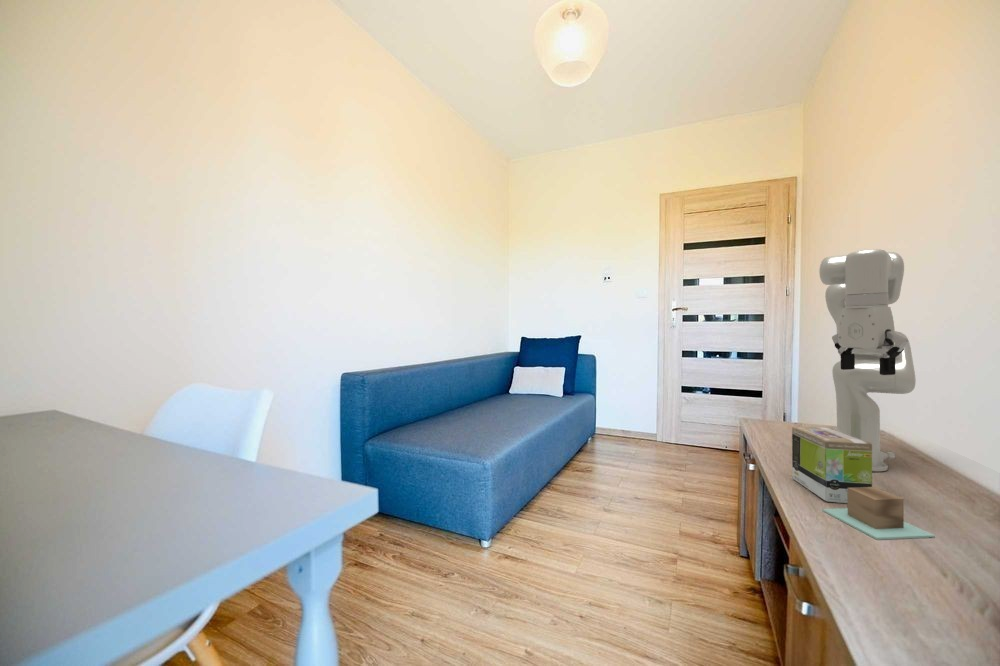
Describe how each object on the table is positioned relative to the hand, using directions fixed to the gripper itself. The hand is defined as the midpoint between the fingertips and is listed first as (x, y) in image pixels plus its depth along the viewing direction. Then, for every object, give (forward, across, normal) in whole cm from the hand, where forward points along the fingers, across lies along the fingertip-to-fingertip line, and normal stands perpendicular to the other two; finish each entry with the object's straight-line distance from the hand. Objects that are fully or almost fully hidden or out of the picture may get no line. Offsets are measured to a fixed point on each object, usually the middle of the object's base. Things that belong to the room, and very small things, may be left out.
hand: (866, 371), depth 94 cm
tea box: (+31, -3, -7) cm, 32 cm away
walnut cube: (+30, +13, -12) cm, 34 cm away
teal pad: (+30, +13, -12) cm, 35 cm away
